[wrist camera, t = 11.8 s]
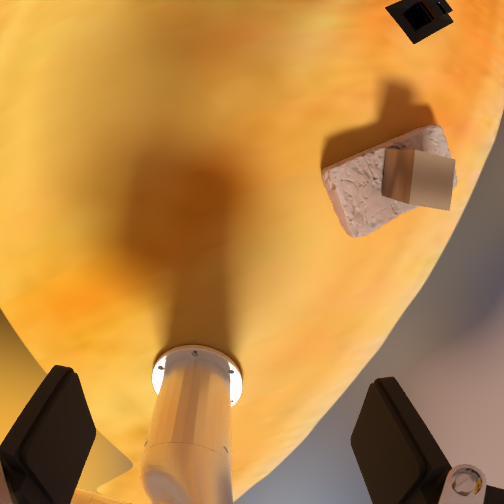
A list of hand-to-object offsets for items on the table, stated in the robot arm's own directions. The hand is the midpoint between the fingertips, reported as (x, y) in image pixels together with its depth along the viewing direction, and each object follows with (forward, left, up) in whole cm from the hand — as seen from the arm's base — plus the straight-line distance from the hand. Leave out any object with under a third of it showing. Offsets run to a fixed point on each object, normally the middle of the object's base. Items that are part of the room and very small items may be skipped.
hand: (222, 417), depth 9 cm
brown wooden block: (+7, -18, -24) cm, 31 cm away
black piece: (+31, -24, -29) cm, 49 cm away
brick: (+7, -18, -29) cm, 35 cm away
